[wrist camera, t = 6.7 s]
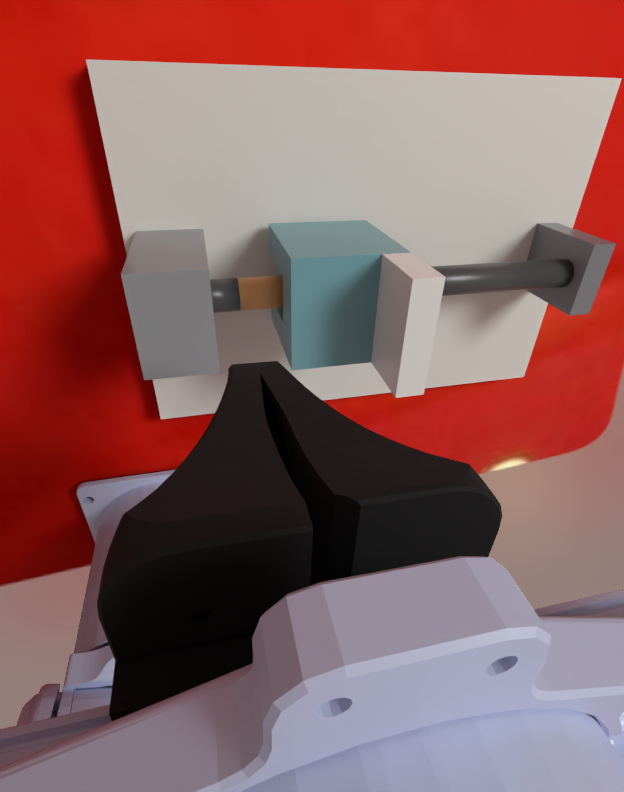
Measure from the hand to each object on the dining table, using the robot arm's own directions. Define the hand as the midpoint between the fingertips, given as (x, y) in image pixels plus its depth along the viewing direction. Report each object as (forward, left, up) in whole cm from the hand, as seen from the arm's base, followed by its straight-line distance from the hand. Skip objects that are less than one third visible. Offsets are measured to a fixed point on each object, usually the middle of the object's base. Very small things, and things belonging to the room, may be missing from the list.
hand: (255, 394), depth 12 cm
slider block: (+1, -4, -8) cm, 9 cm away
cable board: (+1, -6, -9) cm, 11 cm away
